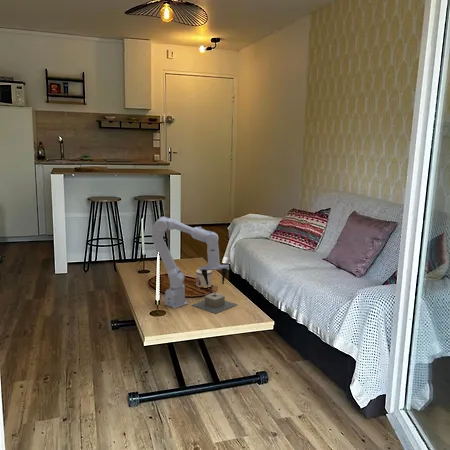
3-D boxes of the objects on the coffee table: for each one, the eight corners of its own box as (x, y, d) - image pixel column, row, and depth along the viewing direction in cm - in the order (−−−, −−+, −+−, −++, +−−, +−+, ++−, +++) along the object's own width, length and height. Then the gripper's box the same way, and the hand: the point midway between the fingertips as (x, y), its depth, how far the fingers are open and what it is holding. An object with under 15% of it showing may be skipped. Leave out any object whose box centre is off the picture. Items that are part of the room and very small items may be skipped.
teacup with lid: (193, 285, 256) (193, 265, 254) (209, 283, 259) (209, 263, 257) (199, 291, 245) (199, 270, 243) (215, 290, 248) (215, 269, 246)
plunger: (214, 300, 220) (215, 289, 219) (207, 298, 224) (207, 286, 223) (221, 298, 224) (221, 286, 223) (214, 295, 227) (214, 284, 226)
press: (215, 313, 213) (215, 303, 213) (191, 305, 224) (191, 296, 223) (237, 305, 225) (237, 295, 224) (213, 297, 236) (213, 288, 235)
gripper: (198, 260, 217) (200, 287, 219) (228, 258, 217) (230, 285, 219) (198, 256, 224) (200, 283, 226) (228, 254, 224) (229, 281, 226)
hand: (215, 284), depth 223 cm, fingers open, 7 cm apart
